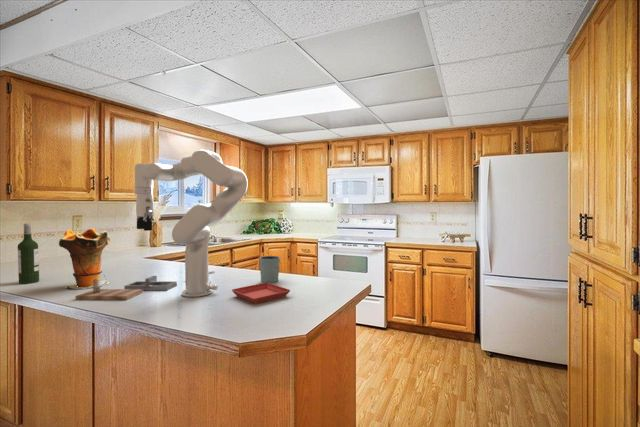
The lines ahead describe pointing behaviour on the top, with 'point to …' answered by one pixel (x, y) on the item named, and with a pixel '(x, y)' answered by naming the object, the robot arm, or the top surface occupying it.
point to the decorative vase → (85, 255)
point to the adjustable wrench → (212, 272)
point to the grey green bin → (269, 268)
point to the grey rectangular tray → (151, 284)
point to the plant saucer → (260, 292)
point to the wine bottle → (28, 258)
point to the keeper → (108, 293)
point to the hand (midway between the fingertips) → (144, 229)
